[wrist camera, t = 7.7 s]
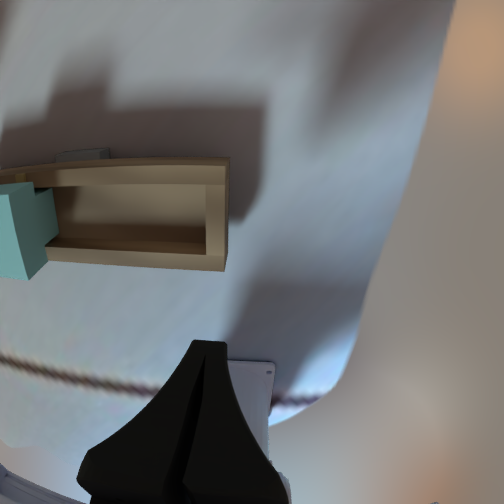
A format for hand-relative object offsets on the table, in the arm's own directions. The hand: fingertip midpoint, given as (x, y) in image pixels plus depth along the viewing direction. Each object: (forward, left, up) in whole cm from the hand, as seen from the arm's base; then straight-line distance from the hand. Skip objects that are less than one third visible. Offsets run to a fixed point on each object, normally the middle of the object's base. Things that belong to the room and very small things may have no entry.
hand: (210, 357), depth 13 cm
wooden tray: (+3, +10, -10) cm, 15 cm away
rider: (+3, +14, -8) cm, 16 cm away
